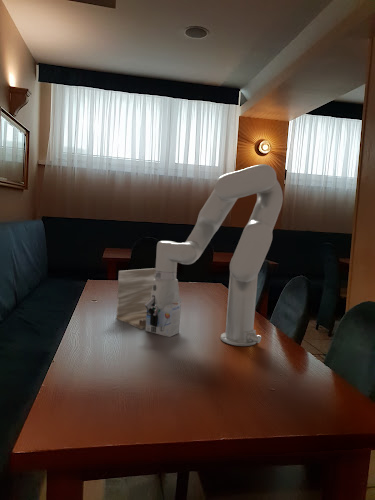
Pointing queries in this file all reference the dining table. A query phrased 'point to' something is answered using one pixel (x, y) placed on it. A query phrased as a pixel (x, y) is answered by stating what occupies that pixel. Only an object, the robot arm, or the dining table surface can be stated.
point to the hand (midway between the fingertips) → (162, 323)
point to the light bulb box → (166, 320)
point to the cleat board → (134, 295)
